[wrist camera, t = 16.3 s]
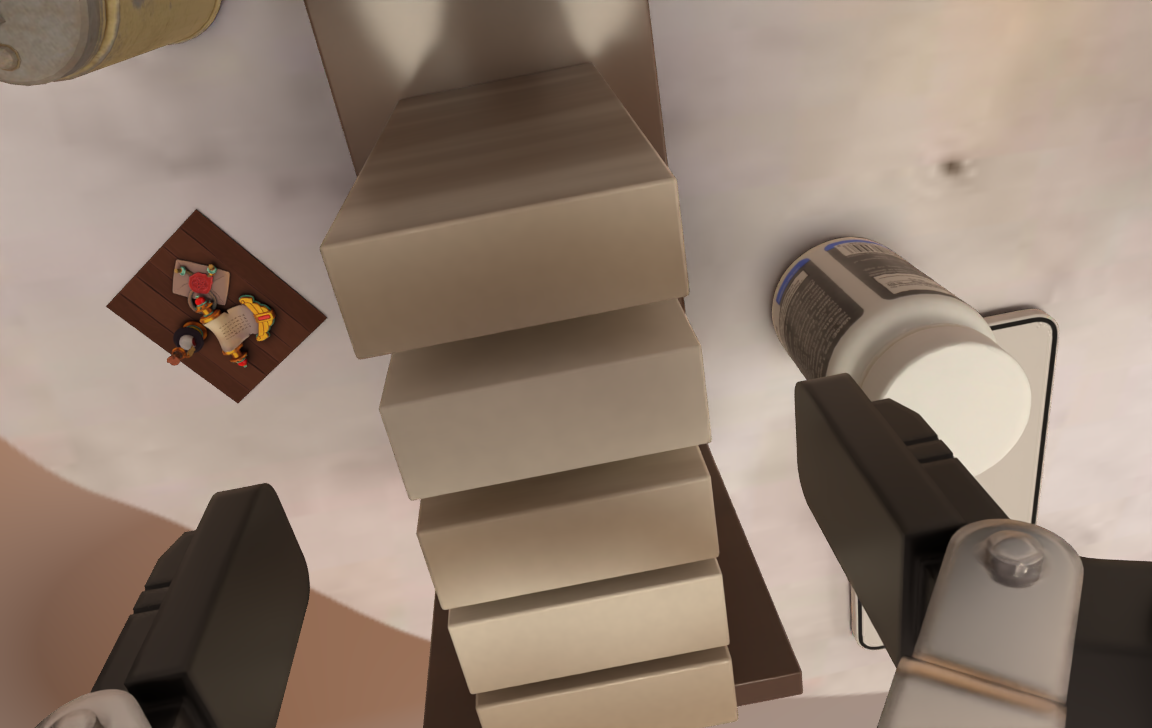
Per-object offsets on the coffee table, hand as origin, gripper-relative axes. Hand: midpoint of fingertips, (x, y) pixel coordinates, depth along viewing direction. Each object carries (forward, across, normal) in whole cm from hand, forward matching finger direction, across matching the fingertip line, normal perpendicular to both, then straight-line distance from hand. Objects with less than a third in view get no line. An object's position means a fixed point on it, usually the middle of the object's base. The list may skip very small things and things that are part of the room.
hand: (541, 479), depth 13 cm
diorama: (+15, +10, +2) cm, 18 cm away
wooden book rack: (+15, 0, +1) cm, 15 cm away
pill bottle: (+15, -10, +6) cm, 19 cm away
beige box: (+14, 0, 0) cm, 14 cm away
